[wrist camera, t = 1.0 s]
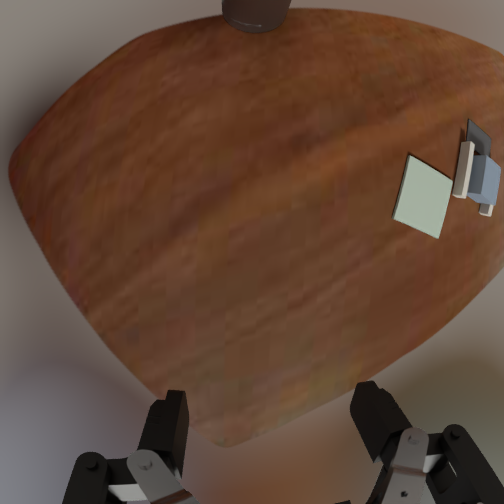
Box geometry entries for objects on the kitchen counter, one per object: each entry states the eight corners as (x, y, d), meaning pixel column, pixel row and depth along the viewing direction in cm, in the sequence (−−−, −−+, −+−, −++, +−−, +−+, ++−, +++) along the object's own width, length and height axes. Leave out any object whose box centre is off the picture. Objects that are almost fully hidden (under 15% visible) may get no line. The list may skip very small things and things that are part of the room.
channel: (464, 116, 34) (473, 114, 31) (493, 141, 35) (501, 141, 32) (451, 194, 37) (461, 195, 34) (481, 214, 38) (490, 216, 36)
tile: (408, 155, 35) (410, 155, 34) (450, 181, 36) (452, 181, 36) (391, 218, 37) (393, 218, 36) (436, 238, 38) (438, 238, 38)
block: (467, 155, 36) (486, 155, 31) (482, 167, 36) (501, 168, 31) (461, 192, 37) (480, 194, 32) (476, 202, 38) (495, 205, 33)
